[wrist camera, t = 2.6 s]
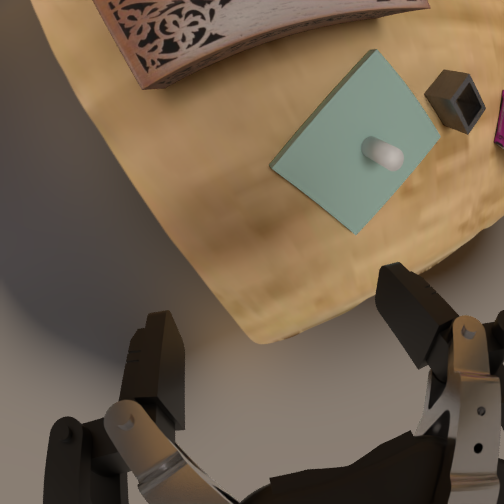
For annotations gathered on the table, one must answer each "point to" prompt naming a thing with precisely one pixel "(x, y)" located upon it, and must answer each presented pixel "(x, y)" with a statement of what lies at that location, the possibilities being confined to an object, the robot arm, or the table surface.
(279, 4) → the tissue box cover
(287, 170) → the post board
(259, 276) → the table surface
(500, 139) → the candy bar box
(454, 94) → the open box
